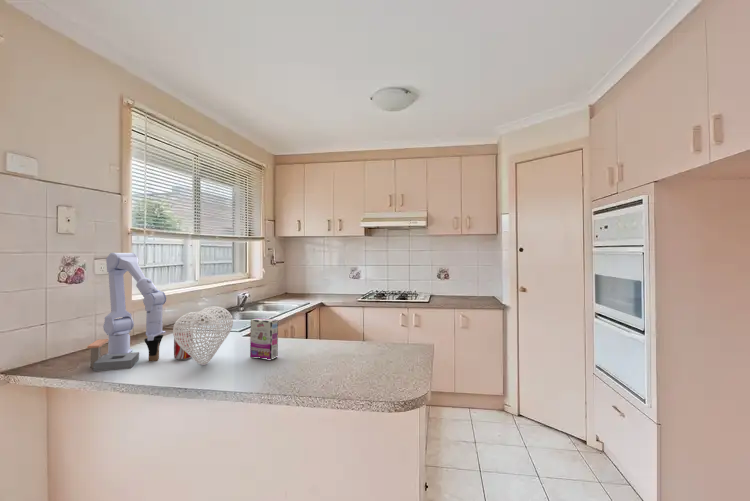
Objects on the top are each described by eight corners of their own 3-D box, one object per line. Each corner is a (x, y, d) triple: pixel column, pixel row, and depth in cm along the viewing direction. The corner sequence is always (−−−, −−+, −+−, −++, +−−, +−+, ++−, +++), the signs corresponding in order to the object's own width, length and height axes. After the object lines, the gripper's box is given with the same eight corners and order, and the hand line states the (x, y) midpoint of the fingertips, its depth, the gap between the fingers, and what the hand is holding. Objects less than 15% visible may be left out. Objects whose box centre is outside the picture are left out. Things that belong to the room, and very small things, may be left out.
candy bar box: (278, 357, 158) (278, 319, 158) (270, 361, 154) (271, 321, 154) (257, 354, 163) (257, 317, 163) (249, 357, 158) (250, 319, 158)
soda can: (184, 361, 151) (185, 332, 151) (169, 360, 153) (170, 331, 153) (196, 356, 158) (196, 328, 158) (181, 355, 160) (182, 327, 160)
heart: (203, 354, 162) (204, 303, 162) (238, 355, 161) (239, 304, 161) (163, 375, 134) (164, 314, 134) (204, 377, 133) (205, 315, 133)
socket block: (97, 362, 148) (97, 339, 148) (138, 359, 153) (139, 336, 153) (85, 371, 137) (86, 346, 137) (130, 368, 142) (131, 343, 142)
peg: (150, 359, 154) (150, 340, 154) (159, 358, 155) (159, 339, 155) (148, 361, 151) (148, 341, 151) (157, 360, 152) (157, 341, 152)
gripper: (162, 324, 147) (161, 358, 147) (168, 317, 161) (168, 349, 161) (141, 325, 145) (141, 359, 145) (149, 318, 158) (149, 350, 158)
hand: (153, 354), depth 153 cm, fingers closed on peg, 3 cm apart
